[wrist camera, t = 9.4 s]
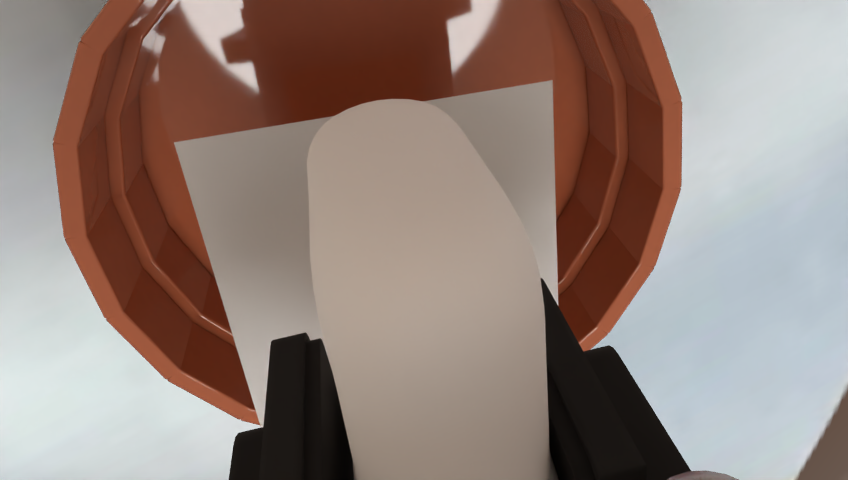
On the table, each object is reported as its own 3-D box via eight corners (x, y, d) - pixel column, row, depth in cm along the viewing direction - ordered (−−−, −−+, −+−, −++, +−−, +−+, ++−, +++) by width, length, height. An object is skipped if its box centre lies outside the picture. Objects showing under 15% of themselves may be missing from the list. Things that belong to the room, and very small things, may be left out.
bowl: (18, -72, 17) (-83, -48, 13) (593, -191, 18) (686, -208, 13) (212, 377, 24) (191, 490, 20) (615, 283, 25) (680, 373, 20)
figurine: (499, -7, 16) (1416, 502, 3) (518, 323, 21) (918, 1104, 7) (183, 41, 15) (-426, 974, 2) (275, 371, 20) (247, 1324, 7)
